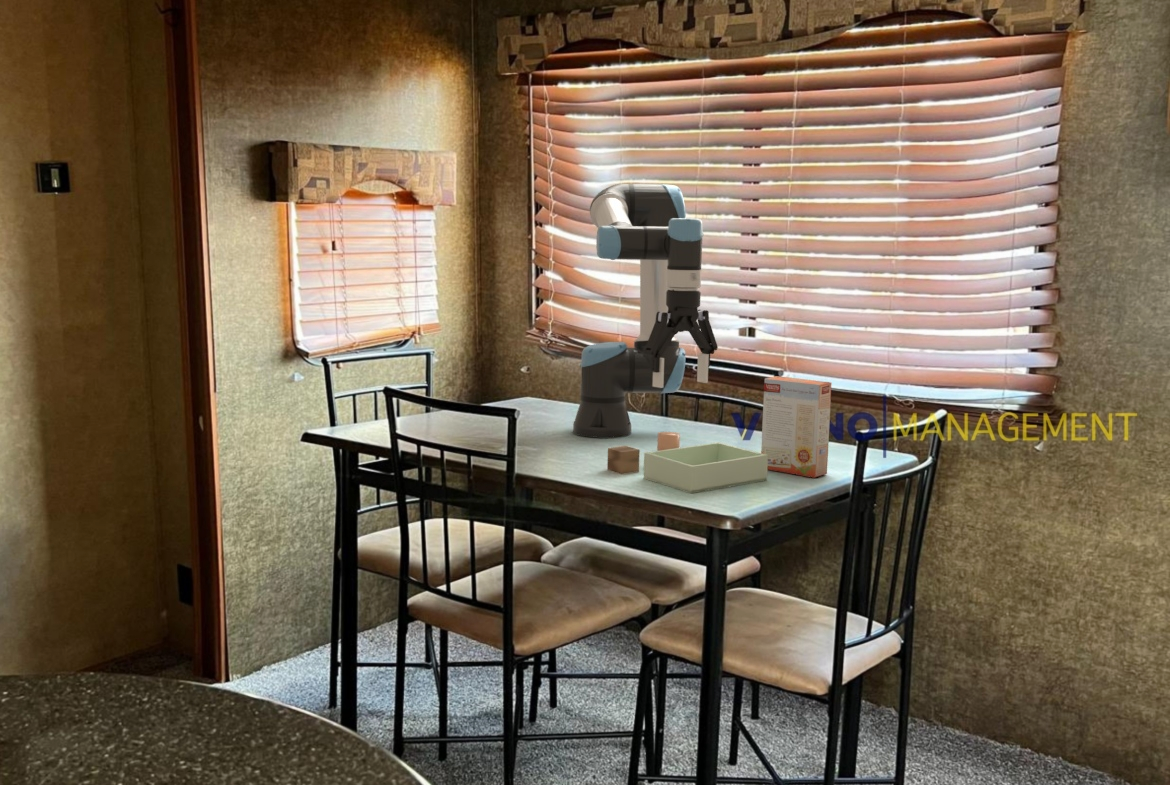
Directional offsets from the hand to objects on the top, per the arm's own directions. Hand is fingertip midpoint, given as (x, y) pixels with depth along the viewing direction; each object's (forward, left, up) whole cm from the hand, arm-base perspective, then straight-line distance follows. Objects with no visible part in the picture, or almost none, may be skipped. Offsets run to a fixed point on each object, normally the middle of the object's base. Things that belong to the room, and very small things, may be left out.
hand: (680, 384), depth 249 cm
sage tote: (+12, -2, -19) cm, 22 cm away
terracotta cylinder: (-4, +1, -19) cm, 19 cm away
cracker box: (+17, +20, -19) cm, 32 cm away
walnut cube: (-4, -12, -19) cm, 23 cm away
